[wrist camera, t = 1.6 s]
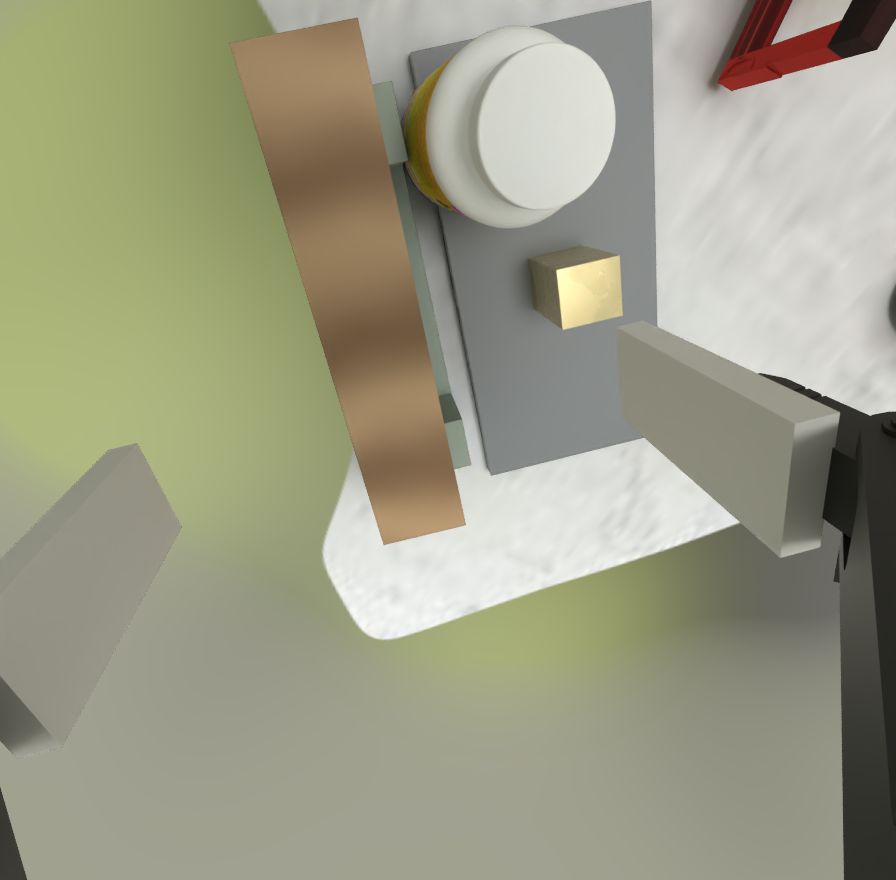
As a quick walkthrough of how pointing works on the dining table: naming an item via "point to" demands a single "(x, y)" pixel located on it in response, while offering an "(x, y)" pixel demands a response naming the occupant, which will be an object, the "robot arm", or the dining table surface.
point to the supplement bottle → (510, 128)
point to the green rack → (419, 269)
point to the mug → (803, 41)
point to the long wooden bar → (354, 264)
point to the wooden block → (576, 286)
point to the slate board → (577, 223)
